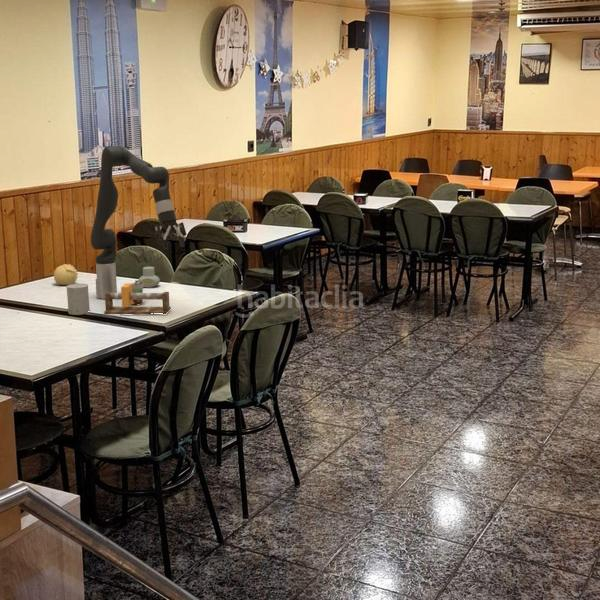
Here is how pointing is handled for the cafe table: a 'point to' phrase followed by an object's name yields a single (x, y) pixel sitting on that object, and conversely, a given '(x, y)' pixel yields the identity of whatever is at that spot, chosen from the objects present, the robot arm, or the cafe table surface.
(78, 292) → the gray cylinder
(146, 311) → the rod stand
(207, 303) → the cafe table surface
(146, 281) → the air freshener
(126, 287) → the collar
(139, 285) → the food container
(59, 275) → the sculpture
